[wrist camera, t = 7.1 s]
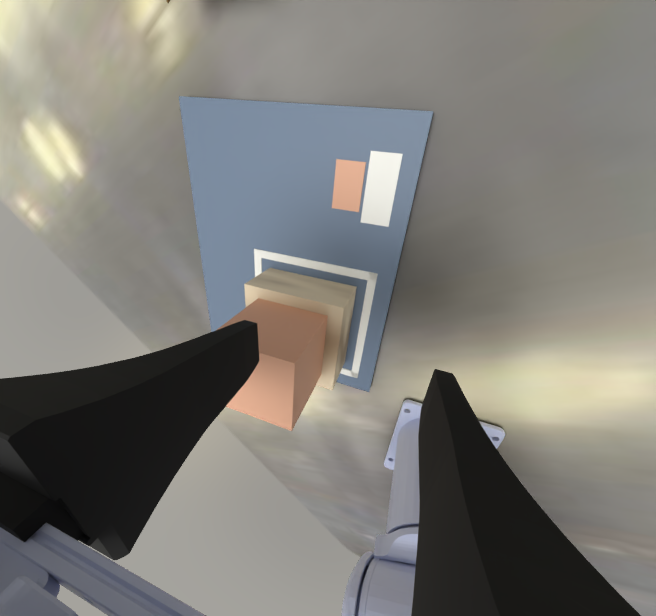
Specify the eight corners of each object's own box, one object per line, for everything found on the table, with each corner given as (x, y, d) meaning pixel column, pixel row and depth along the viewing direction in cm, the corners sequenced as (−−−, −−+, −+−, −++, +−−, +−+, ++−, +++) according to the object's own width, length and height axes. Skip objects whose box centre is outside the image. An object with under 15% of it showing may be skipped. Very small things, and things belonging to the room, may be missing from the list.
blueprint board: (370, 385, 24) (368, 392, 24) (218, 339, 28) (212, 344, 27) (433, 113, 15) (433, 110, 14) (188, 98, 18) (177, 95, 18)
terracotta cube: (321, 374, 20) (291, 430, 16) (260, 355, 21) (217, 403, 17) (327, 315, 17) (294, 363, 13) (258, 297, 19) (207, 336, 14)
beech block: (344, 361, 23) (332, 390, 20) (270, 340, 25) (249, 364, 22) (356, 286, 20) (343, 308, 17) (269, 267, 21) (244, 283, 18)
